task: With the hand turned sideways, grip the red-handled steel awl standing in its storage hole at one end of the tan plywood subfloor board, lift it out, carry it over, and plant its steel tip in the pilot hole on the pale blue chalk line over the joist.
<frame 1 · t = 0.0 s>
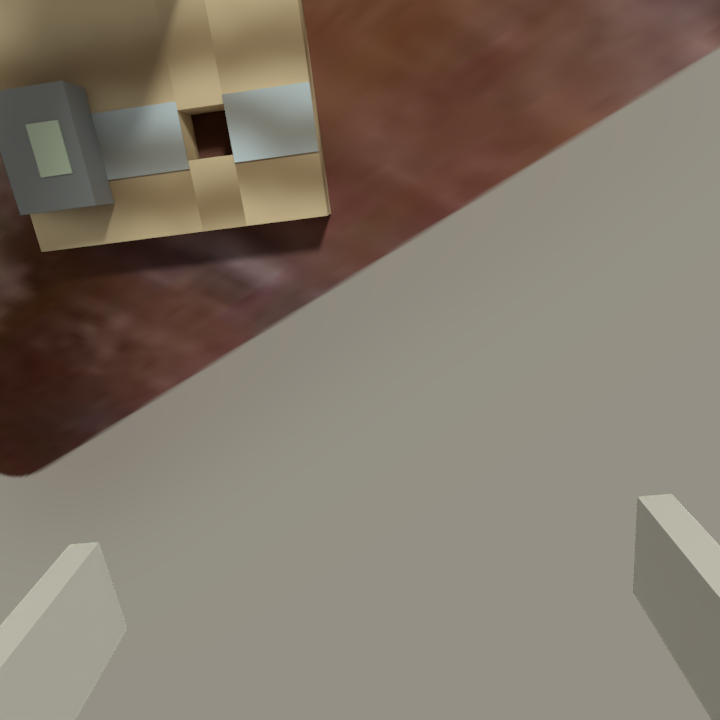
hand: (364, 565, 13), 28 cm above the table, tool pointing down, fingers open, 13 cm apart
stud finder: (63, 152, 34), point 3 cm above the table, touching subfloor board
subfloor board: (156, 60, 35), on the table
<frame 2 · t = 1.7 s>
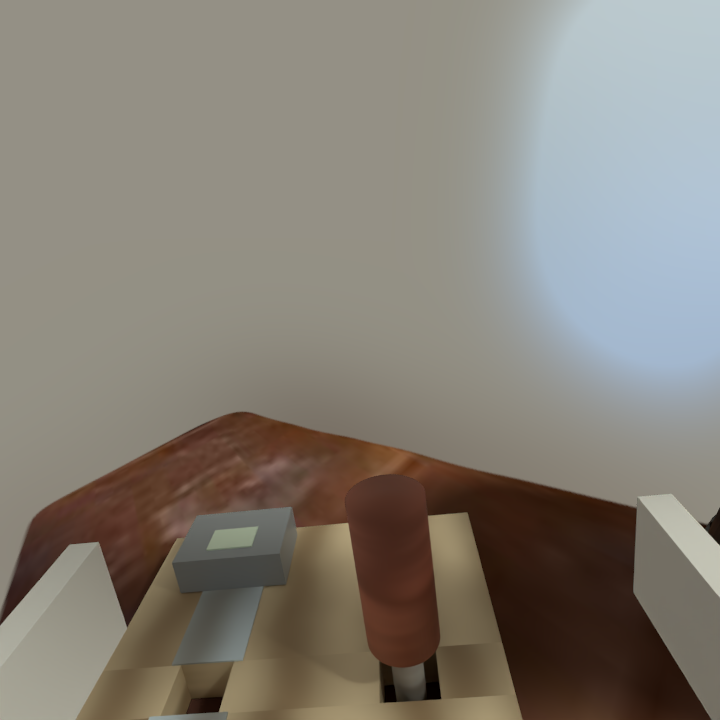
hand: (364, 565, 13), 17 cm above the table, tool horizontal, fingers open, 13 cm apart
awl: (413, 709, 28), resting in subfloor board
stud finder: (242, 562, 37), point 3 cm above the table, touching subfloor board
subfloor board: (307, 667, 31), on the table
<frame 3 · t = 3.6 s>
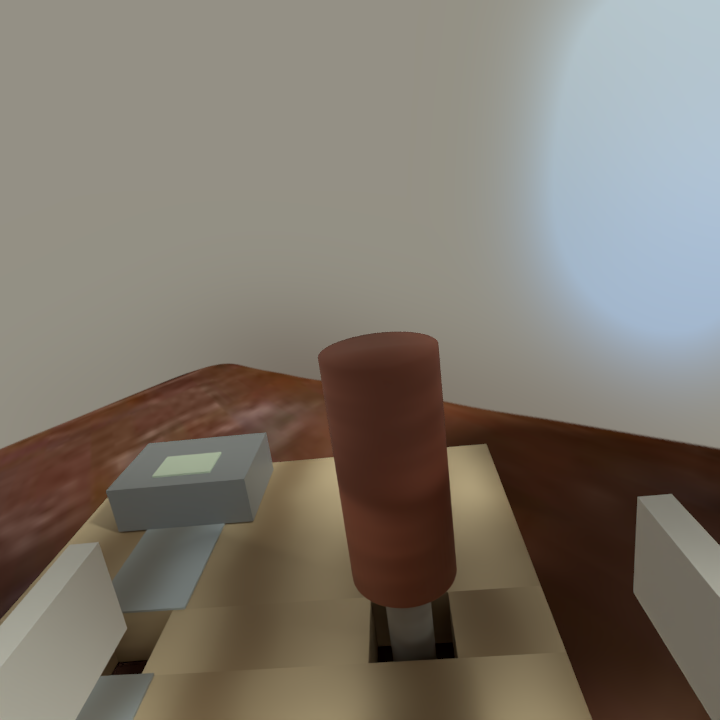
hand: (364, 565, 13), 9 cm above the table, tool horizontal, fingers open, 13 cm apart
awl: (417, 677, 20), resting in subfloor board
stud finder: (201, 498, 29), point 3 cm above the table, touching subfloor board
subfloor board: (276, 624, 23), on the table
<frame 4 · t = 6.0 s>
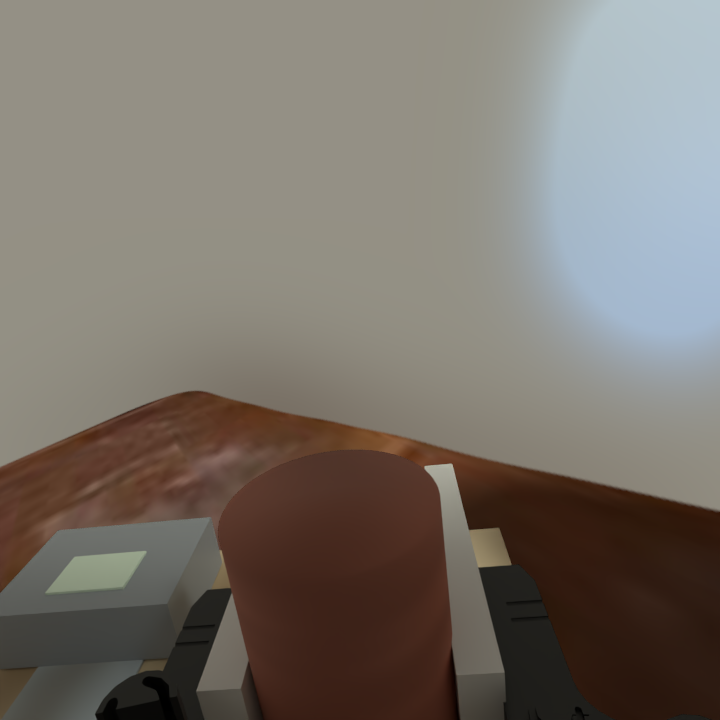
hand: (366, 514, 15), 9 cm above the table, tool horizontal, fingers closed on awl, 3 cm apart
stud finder: (121, 610, 22), point 3 cm above the table, touching subfloor board
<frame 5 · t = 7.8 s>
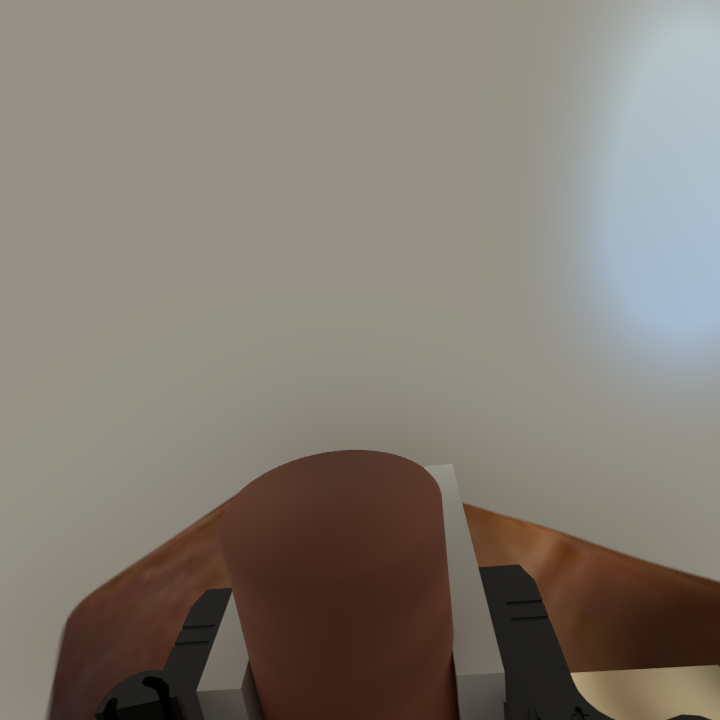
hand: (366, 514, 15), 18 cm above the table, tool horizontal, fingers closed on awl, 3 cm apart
when the fingers open (10 cm above the table, at t = 10.0 s): awl drops 1 cm, resting in subfloor board.
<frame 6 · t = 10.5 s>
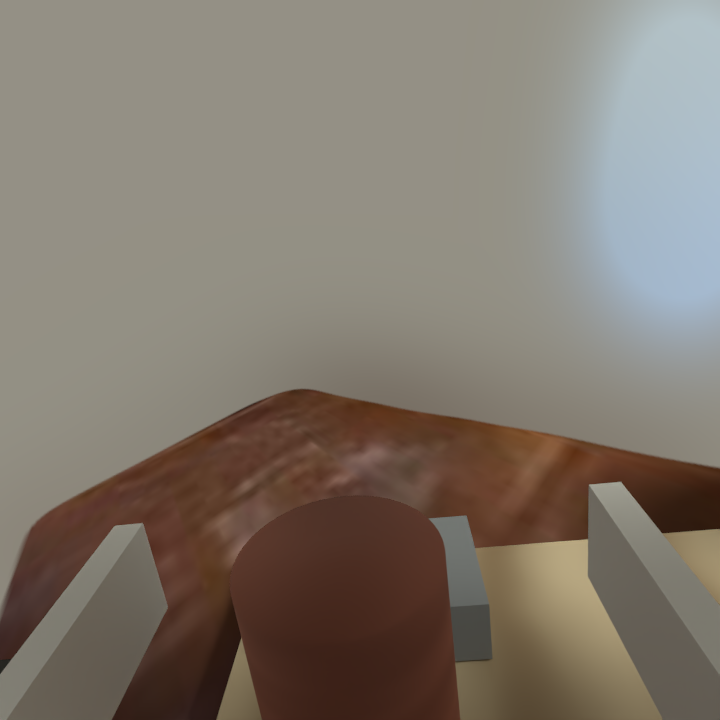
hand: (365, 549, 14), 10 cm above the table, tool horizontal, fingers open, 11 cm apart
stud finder: (391, 611, 21), point 3 cm above the table, touching subfloor board
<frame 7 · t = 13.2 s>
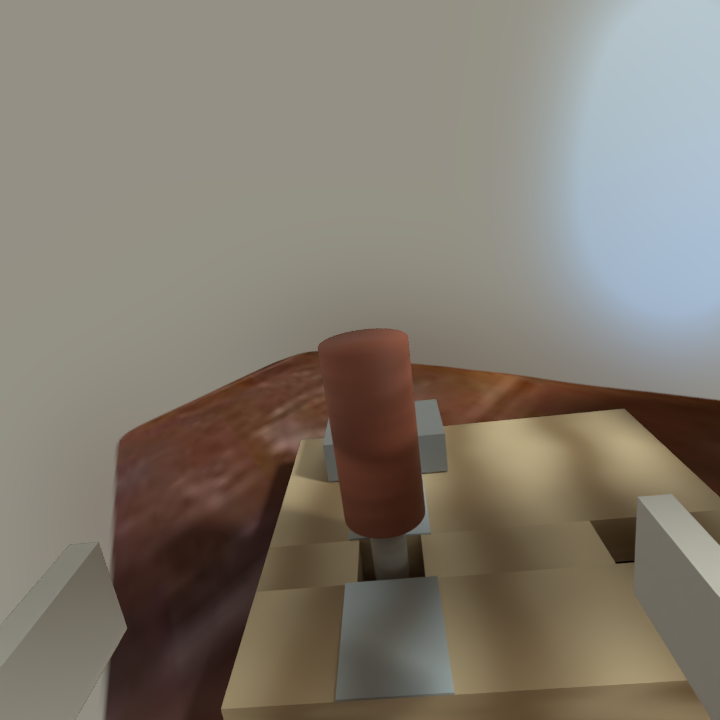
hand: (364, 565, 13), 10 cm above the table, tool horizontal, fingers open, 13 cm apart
awl: (396, 602, 25), resting in subfloor board
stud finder: (387, 455, 33), point 3 cm above the table, touching subfloor board
subfloor board: (489, 551, 28), on the table
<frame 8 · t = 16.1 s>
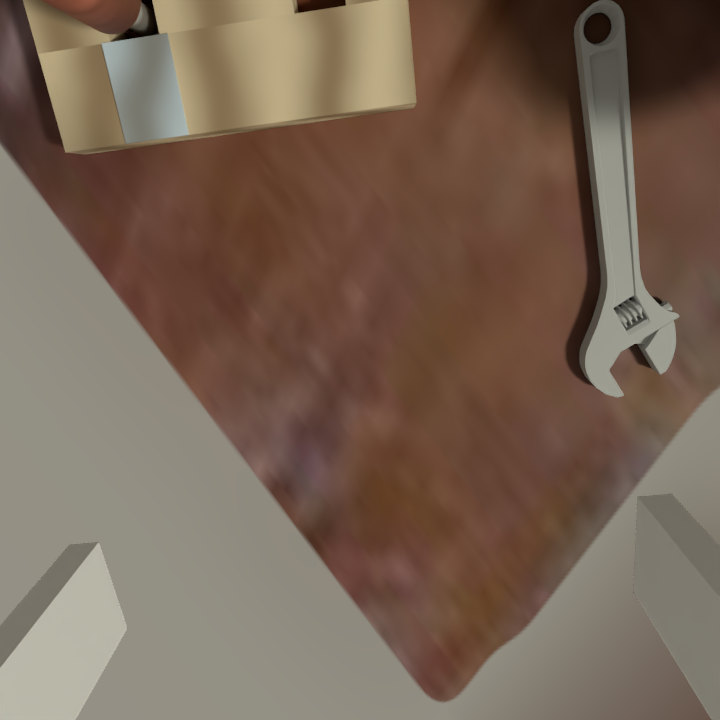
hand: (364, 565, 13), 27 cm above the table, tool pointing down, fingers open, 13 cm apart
awl: (146, 22, 33), resting in subfloor board
adjustable wrench: (618, 217, 36), on the table
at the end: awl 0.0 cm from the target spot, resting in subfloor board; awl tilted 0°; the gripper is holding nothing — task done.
